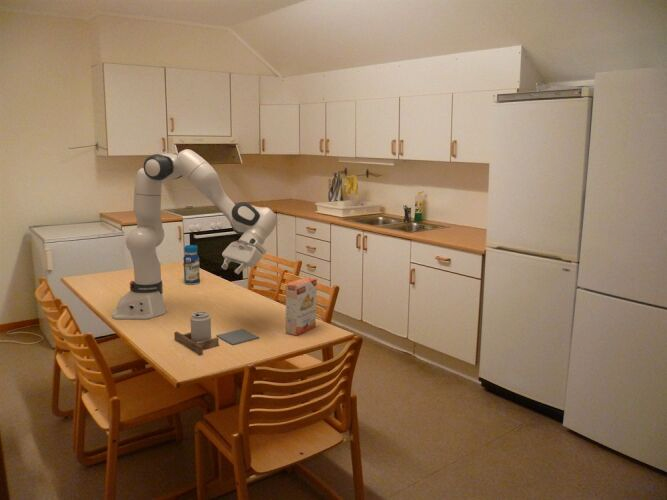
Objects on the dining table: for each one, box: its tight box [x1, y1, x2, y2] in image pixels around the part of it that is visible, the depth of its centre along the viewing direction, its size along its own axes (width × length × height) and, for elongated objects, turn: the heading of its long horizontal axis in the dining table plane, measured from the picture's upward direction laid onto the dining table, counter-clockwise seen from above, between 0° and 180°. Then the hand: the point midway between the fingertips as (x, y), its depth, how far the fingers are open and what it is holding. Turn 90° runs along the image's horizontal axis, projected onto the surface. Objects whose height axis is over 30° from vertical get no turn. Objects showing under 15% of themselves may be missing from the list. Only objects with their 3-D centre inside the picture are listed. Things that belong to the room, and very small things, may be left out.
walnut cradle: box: [174, 331, 220, 356], centre depth 215 cm, size 10×20×3 cm, turn 41°
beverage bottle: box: [182, 244, 201, 286], centre depth 299 cm, size 8×8×20 cm
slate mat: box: [215, 328, 260, 346], centre depth 223 cm, size 12×12×1 cm
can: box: [190, 311, 212, 342], centre depth 215 cm, size 8×8×12 cm
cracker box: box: [285, 276, 318, 336], centre depth 231 cm, size 14×6×21 cm, turn 148°
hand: (229, 270), depth 223 cm, fingers open, 8 cm apart
